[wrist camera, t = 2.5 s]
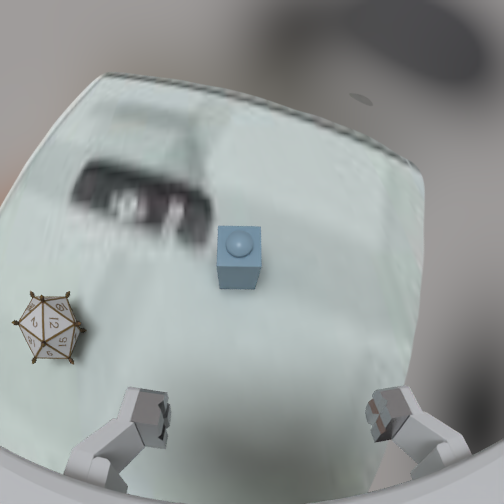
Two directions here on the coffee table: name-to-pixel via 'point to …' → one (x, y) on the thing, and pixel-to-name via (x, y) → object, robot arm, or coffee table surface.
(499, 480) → the robot arm
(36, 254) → the coffee table surface
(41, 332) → the twenty-sided die
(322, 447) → the coffee table surface
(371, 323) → the coffee table surface
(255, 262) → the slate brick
